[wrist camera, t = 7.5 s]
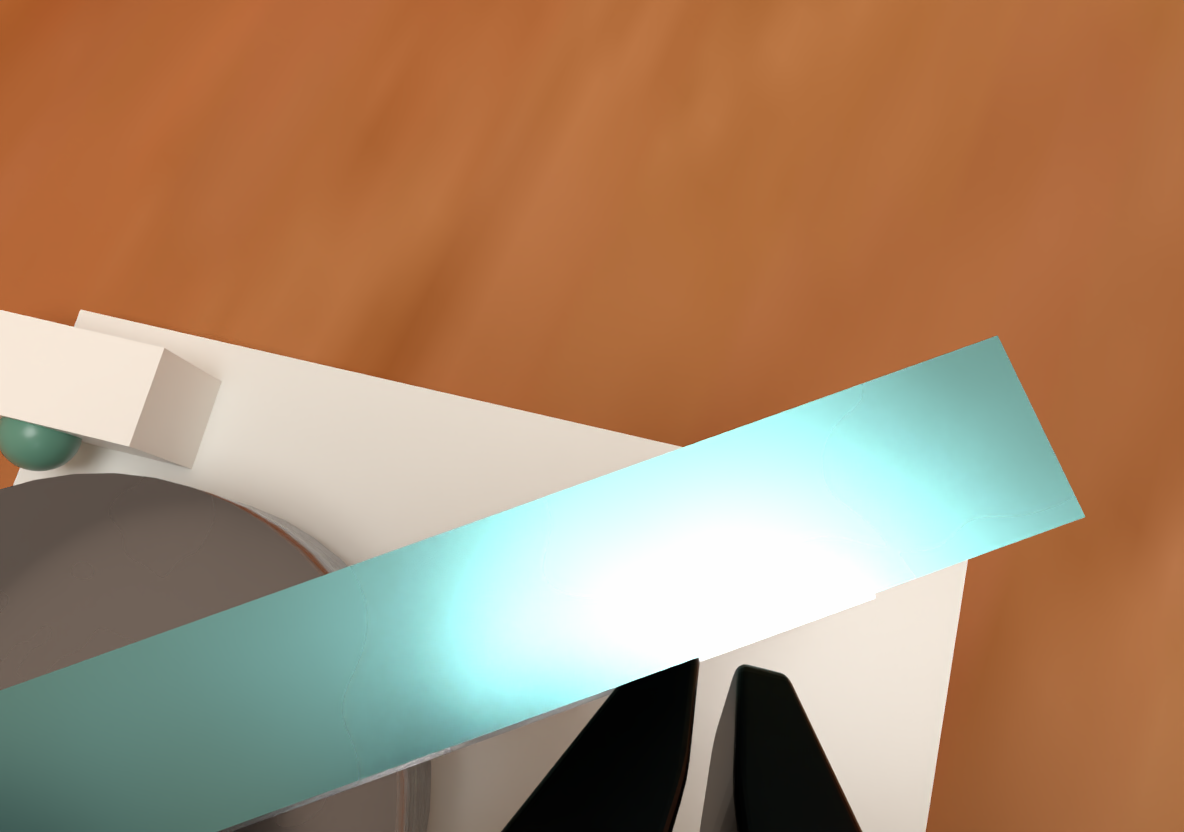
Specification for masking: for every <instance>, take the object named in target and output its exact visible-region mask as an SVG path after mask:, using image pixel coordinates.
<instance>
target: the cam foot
mask: <svg viewBox="0 0 1184 832" xmlns="http://www.w3.org/2000/svg"><path fill="white" fill-rule="evenodd" d="M1084 517H1085V515H1084V513H1083V511H1082V509H1081V507H1080V505H1079V503H1078V501H1077V499H1076V497H1075V495H1074V493H1073V491H1072V489H1071V486H1070V484H1069V482H1068V480H1067V478H1066V476H1065V474H1064V472H1063V470H1062V468H1061V466H1060V464H1059V462H1058V460H1057V457H1056V455H1055V453H1054V451H1053V449H1052V447H1051V445H1050V443H1049V441H1048V439H1047V437H1046V435H1045V433H1044V431H1043V429H1042V426H1041V424H1040V422H1039V420H1038V418H1037V416H1036V414H1035V412H1034V410H1033V408H1032V406H1031V404H1030V402H1029V400H1028V398H1027V395H1026V393H1025V391H1024V389H1023V387H1022V385H1021V383H1020V381H1019V379H1018V377H1017V375H1016V373H1015V371H1014V369H1013V366H1012V364H1011V362H1010V360H1009V358H1008V356H1007V354H1006V352H1005V350H1004V348H1003V346H1002V344H1001V342H1000V340H999V338H998V336H995V337H992V338H989V339H986V340H984V341H981V342H978V343H975V344H972V345H970V346H967V347H964V348H961V349H958V350H956V351H953V352H950V353H947V354H944V355H942V356H939V357H936V358H933V359H930V360H927V361H925V362H922V363H919V364H916V365H913V366H911V367H908V368H905V369H902V370H899V371H897V372H894V373H891V374H888V375H885V376H883V377H880V378H877V379H874V380H871V381H868V382H866V383H863V384H860V385H857V386H854V387H852V388H849V389H846V390H843V391H840V392H838V393H835V394H832V395H829V396H826V397H824V398H821V399H818V400H815V401H812V402H809V403H807V404H804V405H801V406H798V407H795V408H793V409H790V410H787V411H784V412H781V413H779V414H776V415H773V416H770V417H767V418H764V419H762V420H759V421H756V422H753V423H750V424H748V425H745V426H742V427H739V428H736V429H734V430H731V431H728V432H725V433H722V434H720V435H717V436H714V437H711V438H708V439H705V440H703V441H700V442H697V443H694V444H691V445H689V446H686V447H683V448H680V449H677V450H675V451H672V452H669V453H666V454H663V455H661V456H658V457H655V458H652V459H649V460H646V461H644V462H641V463H638V464H635V465H632V466H630V467H627V468H624V469H621V470H618V471H616V472H613V473H610V474H607V475H604V476H602V477H599V478H596V479H593V480H590V481H587V482H585V483H582V484H579V485H576V486H573V487H571V488H568V489H565V490H562V491H559V492H557V493H554V494H551V495H548V496H545V497H542V498H540V499H537V500H534V501H531V502H528V503H526V504H523V505H520V506H517V507H514V508H512V509H509V510H506V511H503V512H500V513H498V514H495V515H492V516H489V517H486V518H483V519H481V520H478V521H475V522H472V523H469V524H467V525H464V526H461V527H458V528H455V529H453V530H450V531H447V532H444V533H441V534H439V535H436V536H433V537H430V538H427V539H424V540H422V541H419V542H416V543H413V544H410V545H408V546H405V547H402V548H399V549H396V550H394V551H391V552H388V553H385V554H382V555H380V556H377V557H374V558H371V559H368V560H365V561H363V562H360V563H357V564H354V565H351V566H349V567H348V566H347V565H346V564H345V563H344V562H343V561H342V560H341V559H340V558H339V557H338V556H336V555H335V554H334V553H333V552H331V551H330V550H329V549H328V548H326V547H325V546H324V545H323V544H321V543H320V542H319V541H318V540H316V539H315V538H314V537H312V536H310V535H309V534H307V533H305V532H304V531H302V530H300V529H299V528H297V527H295V526H294V525H292V524H290V523H289V522H287V521H285V520H283V519H281V518H279V517H276V516H274V515H271V514H269V513H267V512H264V511H262V510H259V509H257V508H255V507H252V506H249V505H246V504H243V503H240V502H237V501H233V500H230V499H227V498H224V497H221V496H218V495H215V494H212V493H208V492H205V491H202V490H199V489H196V488H193V487H189V486H185V485H181V484H177V483H173V482H170V481H166V480H162V479H158V478H153V477H145V476H136V475H128V474H119V473H92V474H70V475H64V476H57V477H50V478H44V479H37V480H32V481H29V482H25V483H22V484H18V485H14V486H11V487H7V488H4V489H0V832H427V826H428V819H429V812H430V793H431V759H433V758H436V757H439V756H442V755H444V754H447V753H450V752H453V751H456V750H458V749H461V748H464V747H467V746H469V745H472V744H475V743H478V742H480V741H483V740H486V739H489V738H491V737H494V736H497V735H500V734H502V733H505V732H508V731H511V730H513V729H516V728H519V727H522V726H524V725H527V724H530V723H533V722H535V721H538V720H541V719H544V718H547V717H549V716H552V715H555V714H558V713H560V712H563V711H566V710H569V709H571V708H574V707H577V706H580V705H582V704H585V703H588V702H591V701H593V700H596V699H599V698H602V697H604V696H607V695H610V694H611V693H612V692H613V690H614V689H615V688H616V687H617V686H620V685H623V684H626V683H628V682H631V681H634V680H637V679H639V678H642V677H645V676H648V675H650V674H653V673H656V672H659V671H662V670H664V669H667V668H670V667H673V666H675V665H678V664H681V663H684V662H686V661H689V660H692V659H695V658H697V657H699V660H700V662H701V661H704V660H706V659H709V658H712V657H715V656H717V655H720V654H723V653H726V652H728V651H731V650H734V649H737V648H739V647H742V646H745V645H748V644H751V643H753V642H756V641H759V640H762V639H764V638H767V637H770V636H773V635H775V634H778V633H781V632H784V631H786V630H789V629H792V628H795V627H797V626H800V625H803V624H806V623H808V622H811V621H814V620H817V619H819V618H822V617H825V616H828V615H830V614H833V613H836V612H839V611H841V610H844V609H847V608H850V607H853V606H855V605H858V604H861V603H864V602H866V601H869V600H872V599H875V598H876V597H875V595H874V593H877V592H879V591H882V590H885V589H888V588H890V587H893V586H896V585H899V584H901V583H904V582H907V581H910V580H913V579H915V578H918V577H921V576H924V575H926V574H929V573H932V572H935V571H937V570H940V569H943V568H946V567H948V566H951V565H954V564H957V563H959V562H962V561H965V560H968V559H970V558H973V557H976V556H979V555H981V554H984V553H987V552H990V551H992V550H995V549H998V548H1001V547H1004V546H1006V545H1009V544H1012V543H1015V542H1017V541H1020V540H1023V539H1026V538H1028V537H1031V536H1034V535H1037V534H1039V533H1042V532H1045V531H1048V530H1050V529H1053V528H1056V527H1059V526H1061V525H1064V524H1067V523H1070V522H1072V521H1075V520H1078V519H1081V518H1084Z"/></svg>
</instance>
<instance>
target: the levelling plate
mask: <svg viewBox="0 0 1184 832" xmlns="http://www.w3.org/2000/svg"><path fill="white" fill-rule="evenodd" d="M680 448H683V447H680V446H675V445H671V444H666V443H662V442H658V441H653V440H649V439H645V438H640V437H636V436H631V435H627V434H623V433H618V432H614V431H610V430H605V429H601V428H596V427H592V426H588V425H583V424H579V423H575V422H570V421H566V420H561V419H557V418H553V417H548V416H544V415H540V414H535V413H531V412H526V411H522V410H518V409H513V408H509V407H504V406H500V405H496V404H491V403H487V402H483V401H478V400H474V399H469V398H465V397H461V396H456V395H452V394H448V393H443V392H439V391H434V390H430V389H426V388H421V387H417V386H413V385H408V384H404V383H399V382H395V381H391V380H386V379H382V378H378V377H373V376H369V375H364V374H360V373H356V372H351V371H347V370H343V369H338V368H334V367H329V366H325V365H321V364H316V363H312V362H307V361H303V360H299V359H294V358H290V357H286V356H281V355H277V354H272V353H268V352H264V351H259V350H255V349H251V348H246V347H242V346H237V345H233V344H229V343H224V342H220V341H216V340H211V339H207V338H202V337H198V336H194V335H189V334H185V333H181V332H176V331H172V330H167V329H163V328H159V327H154V326H150V325H146V324H141V323H137V322H132V321H128V320H124V319H119V318H115V317H110V316H106V315H102V314H97V313H93V312H89V311H84V310H80V312H79V315H78V318H77V320H76V323H75V325H74V327H72V326H68V325H63V324H59V323H55V322H50V321H46V320H42V319H37V318H33V317H29V316H24V315H20V314H16V313H11V312H7V311H3V310H0V450H1V452H2V454H3V455H4V456H5V457H6V458H7V459H8V460H9V461H10V462H11V463H13V464H14V465H16V466H18V467H20V469H19V472H18V474H17V477H16V479H15V482H14V485H18V484H22V483H25V482H29V481H32V480H37V479H44V478H50V477H57V476H64V475H70V474H92V473H119V474H128V475H136V476H145V477H153V478H158V479H162V480H166V481H170V482H173V483H177V484H181V485H185V486H189V487H193V488H196V489H199V490H202V491H205V492H208V493H212V494H215V495H218V496H221V497H224V498H227V499H230V500H233V501H237V502H240V503H243V504H246V505H249V506H252V507H255V508H257V509H259V510H262V511H264V512H267V513H269V514H271V515H274V516H276V517H279V518H281V519H283V520H285V521H287V522H289V523H290V524H292V525H294V526H295V527H297V528H299V529H300V530H302V531H304V532H305V533H307V534H309V535H310V536H312V537H314V538H315V539H316V540H318V541H319V542H320V543H321V544H323V545H324V546H325V547H326V548H328V549H329V550H330V551H331V552H333V553H334V554H335V555H336V556H338V557H339V558H340V559H341V560H342V561H343V562H344V563H345V564H346V565H347V566H348V567H349V566H351V565H354V564H357V563H360V562H363V561H365V560H368V559H371V558H374V557H377V556H380V555H382V554H385V553H388V552H391V551H394V550H396V549H399V548H402V547H405V546H408V545H410V544H413V543H416V542H419V541H422V540H424V539H427V538H430V537H433V536H436V535H439V534H441V533H444V532H447V531H450V530H453V529H455V528H458V527H461V526H464V525H467V524H469V523H472V522H475V521H478V520H481V519H483V518H486V517H489V516H492V515H495V514H498V513H500V512H503V511H506V510H509V509H512V508H514V507H517V506H520V505H523V504H526V503H528V502H531V501H534V500H537V499H540V498H542V497H545V496H548V495H551V494H554V493H557V492H559V491H562V490H565V489H568V488H571V487H573V486H576V485H579V484H582V483H585V482H587V481H590V480H593V479H596V478H599V477H602V476H604V475H607V474H610V473H613V472H616V471H618V470H621V469H624V468H627V467H630V466H632V465H635V464H638V463H641V462H644V461H646V460H649V459H652V458H655V457H658V456H661V455H663V454H666V453H669V452H672V451H675V450H677V449H680ZM14 485H13V486H14ZM967 562H968V560H965V561H962V562H959V563H957V564H954V565H951V566H948V567H946V568H943V569H940V570H937V571H935V572H932V573H929V574H926V575H924V576H921V577H918V578H915V579H913V580H910V581H907V582H904V583H901V584H899V585H896V586H893V587H890V588H888V589H885V590H882V591H879V592H877V593H874V595H875V597H876V598H875V599H872V600H869V601H866V602H864V603H861V604H858V605H855V606H853V607H850V608H847V609H844V610H841V611H839V612H836V613H833V614H830V615H828V616H825V617H822V618H819V619H817V620H814V621H811V622H808V623H806V624H803V625H800V626H797V627H795V628H792V629H789V630H786V631H784V632H781V633H778V634H775V635H773V636H770V637H767V638H764V639H762V640H759V641H756V642H753V643H751V644H748V645H745V646H742V647H739V648H737V649H734V650H731V651H728V652H726V653H723V654H720V655H717V656H715V657H712V658H709V659H706V660H704V661H701V662H700V665H699V676H698V685H697V695H696V705H695V714H694V724H693V734H692V743H691V753H690V761H689V768H688V774H687V781H686V785H685V788H684V792H683V796H682V800H681V804H680V807H679V811H678V814H677V817H676V821H675V824H674V828H673V831H672V832H700V825H701V819H702V812H703V805H704V799H705V792H706V786H707V779H708V773H709V766H710V760H711V753H712V748H713V743H714V738H715V734H716V730H717V727H718V723H719V720H720V717H721V714H722V710H723V707H724V704H725V701H726V697H727V694H728V691H729V688H730V684H731V681H732V678H733V675H734V672H735V670H736V669H737V668H738V666H740V665H743V664H747V665H752V666H756V667H760V668H764V669H768V670H772V671H776V672H780V673H783V674H784V675H786V676H787V677H788V678H789V680H790V681H791V683H792V685H793V687H794V689H795V691H796V693H797V696H798V698H799V700H800V702H801V704H802V706H803V708H804V710H805V712H806V714H807V717H808V719H809V721H810V723H811V725H812V727H813V729H814V731H815V733H816V735H817V738H818V740H819V742H820V744H821V746H822V748H823V750H824V752H825V754H826V756H827V758H828V761H829V763H830V765H831V767H832V769H833V771H834V773H835V775H836V777H837V779H838V782H839V784H840V786H841V788H842V790H843V792H844V794H845V796H846V798H847V800H848V803H849V805H850V807H851V809H852V811H853V813H854V815H855V817H856V819H857V821H858V824H859V826H860V828H861V830H862V832H926V826H927V819H928V813H929V807H930V800H931V794H932V787H933V781H934V774H935V768H936V762H937V755H938V749H939V742H940V736H941V729H942V723H943V717H944V710H945V704H946V697H947V691H948V684H949V678H950V672H951V665H952V659H953V652H954V646H955V639H956V633H957V627H958V620H959V614H960V607H961V601H962V594H963V588H964V582H965V575H966V569H967ZM608 697H609V695H607V696H604V697H602V698H599V699H596V700H593V701H591V702H588V703H585V704H582V705H580V706H577V707H574V708H571V709H569V710H566V711H563V712H560V713H558V714H555V715H552V716H549V717H547V718H544V719H541V720H538V721H535V722H533V723H530V724H527V725H524V726H522V727H519V728H516V729H513V730H511V731H508V732H505V733H502V734H500V735H497V736H494V737H491V738H489V739H486V740H483V741H480V742H478V743H475V744H472V745H469V746H467V747H464V748H461V749H458V750H456V751H453V752H450V753H447V754H444V755H442V756H439V757H436V758H433V759H431V793H430V812H429V819H428V826H427V832H501V831H502V830H503V828H504V827H505V826H506V825H507V823H508V822H509V821H510V820H511V818H512V817H513V816H514V815H515V813H516V812H517V811H518V810H519V808H520V807H521V806H522V805H523V803H524V802H525V801H526V800H527V798H528V797H529V796H530V795H531V793H532V792H533V791H534V789H535V788H536V787H537V786H538V784H539V783H540V782H541V781H542V779H543V778H544V777H545V776H546V774H547V773H548V772H549V771H550V769H551V768H552V767H553V766H554V764H555V763H556V762H557V761H558V759H559V758H560V757H561V756H562V754H563V753H564V752H565V751H566V749H567V748H568V747H569V746H570V744H571V743H572V742H573V741H574V739H575V738H576V737H577V736H578V734H579V733H580V732H581V731H582V729H583V728H584V727H585V726H586V724H587V723H588V722H589V720H590V719H591V718H592V717H593V715H594V714H595V713H596V712H597V710H598V709H599V708H600V707H601V705H602V704H603V703H604V702H605V700H606V699H607V698H608Z"/></svg>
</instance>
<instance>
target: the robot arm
mask: <svg viewBox="0 0 1184 832" xmlns="http://www.w3.org/2000/svg"><path fill="white" fill-rule="evenodd" d="M699 665H700V660H699V657H697V658H695V659H692V660H689V661H686V662H684V663H681V664H678V665H675V666H673V667H670V668H667V669H664V670H662V671H659V672H656V673H653V674H650V675H648V676H645V677H642V678H639V679H637V680H634V681H631V682H628V683H626V684H623V685H620V686H617V687H616V688H615V689H614V690H613V692H612V693H611V694H610V695H609V697H608V698H607V699H606V700H605V702H604V703H603V704H602V705H601V707H600V708H599V709H598V710H597V712H596V713H595V714H594V715H593V717H592V718H591V719H590V720H589V722H588V723H587V724H586V726H585V727H584V728H583V729H582V731H581V732H580V733H579V734H578V736H577V737H576V738H575V739H574V741H573V742H572V743H571V744H570V746H569V747H568V748H567V749H566V751H565V752H564V753H563V754H562V756H561V757H560V758H559V759H558V761H557V762H556V763H555V764H554V766H553V767H552V768H551V769H550V771H549V772H548V773H547V774H546V776H545V777H544V778H543V779H542V781H541V782H540V783H539V784H538V786H537V787H536V788H535V789H534V791H533V792H532V793H531V795H530V796H529V797H528V798H527V800H526V801H525V802H524V803H523V805H522V806H521V807H520V808H519V810H518V811H517V812H516V813H515V815H514V816H513V817H512V818H511V820H510V821H509V822H508V823H507V825H506V826H505V827H504V828H503V830H502V831H501V832H672V831H673V828H674V824H675V821H676V817H677V814H678V811H679V807H680V804H681V800H682V796H683V792H684V788H685V785H686V781H687V774H688V768H689V761H690V753H691V743H692V734H693V724H694V714H695V705H696V695H697V685H698V676H699ZM700 832H862V830H861V828H860V826H859V824H858V821H857V819H856V817H855V815H854V813H853V811H852V809H851V807H850V805H849V803H848V800H847V798H846V796H845V794H844V792H843V790H842V788H841V786H840V784H839V782H838V779H837V777H836V775H835V773H834V771H833V769H832V767H831V765H830V763H829V761H828V758H827V756H826V754H825V752H824V750H823V748H822V746H821V744H820V742H819V740H818V738H817V735H816V733H815V731H814V729H813V727H812V725H811V723H810V721H809V719H808V717H807V714H806V712H805V710H804V708H803V706H802V704H801V702H800V700H799V698H798V696H797V693H796V691H795V689H794V687H793V685H792V683H791V681H790V680H789V678H788V677H787V676H786V675H784V674H783V673H780V672H776V671H772V670H768V669H764V668H760V667H756V666H752V665H747V664H743V665H740V666H738V668H737V669H736V670H735V672H734V675H733V678H732V681H731V684H730V688H729V691H728V694H727V697H726V701H725V704H724V707H723V710H722V714H721V717H720V720H719V723H718V727H717V730H716V734H715V738H714V743H713V748H712V753H711V760H710V766H709V773H708V779H707V786H706V792H705V799H704V805H703V812H702V819H701V825H700Z"/></svg>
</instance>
